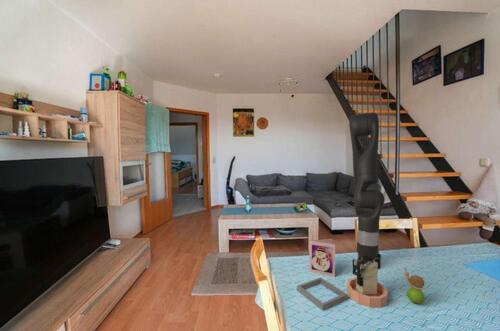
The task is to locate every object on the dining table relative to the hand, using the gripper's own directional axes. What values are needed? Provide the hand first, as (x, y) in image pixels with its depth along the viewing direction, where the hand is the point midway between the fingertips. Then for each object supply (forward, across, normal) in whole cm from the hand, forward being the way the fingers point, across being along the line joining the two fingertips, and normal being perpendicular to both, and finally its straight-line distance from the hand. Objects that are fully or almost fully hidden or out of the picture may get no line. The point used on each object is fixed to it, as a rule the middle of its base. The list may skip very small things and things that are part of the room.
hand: (366, 282), depth 93 cm
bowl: (+5, 0, 0) cm, 5 cm away
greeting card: (+5, +1, -22) cm, 23 cm away
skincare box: (+4, 0, 0) cm, 4 cm away
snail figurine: (+5, -12, +11) cm, 17 cm away
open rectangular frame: (+5, +15, -9) cm, 18 cm away
